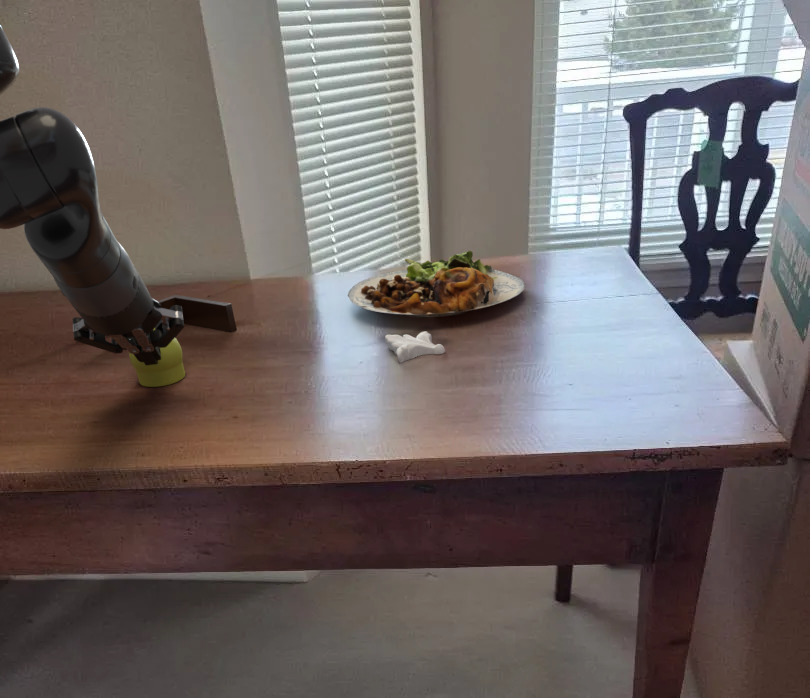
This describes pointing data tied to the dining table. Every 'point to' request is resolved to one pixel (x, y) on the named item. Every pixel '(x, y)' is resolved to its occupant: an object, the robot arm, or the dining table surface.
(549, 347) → the dining table surface
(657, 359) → the dining table surface
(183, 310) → the corner fence
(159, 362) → the pear
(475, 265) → the plate of food
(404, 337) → the acanthus leaf ornament
